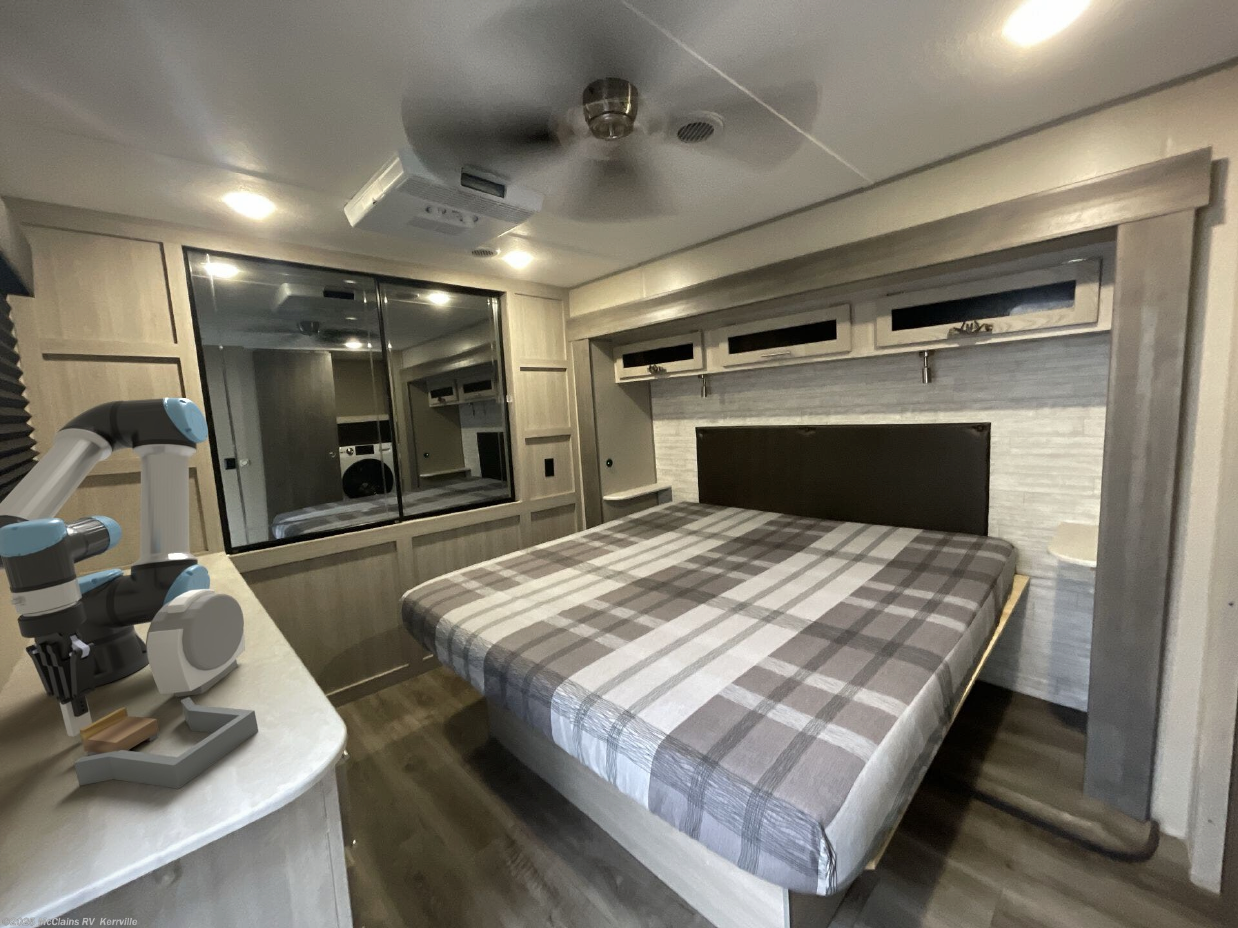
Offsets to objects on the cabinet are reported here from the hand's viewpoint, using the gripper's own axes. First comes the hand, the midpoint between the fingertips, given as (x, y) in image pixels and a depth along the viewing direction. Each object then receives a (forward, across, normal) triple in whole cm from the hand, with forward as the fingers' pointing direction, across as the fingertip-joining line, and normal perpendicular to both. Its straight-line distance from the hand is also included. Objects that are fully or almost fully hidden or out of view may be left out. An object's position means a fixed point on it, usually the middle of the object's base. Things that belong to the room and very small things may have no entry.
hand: (80, 730), depth 87 cm
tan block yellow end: (+2, +10, 0) cm, 10 cm away
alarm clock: (+2, +4, +19) cm, 20 cm away
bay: (+2, +23, 0) cm, 23 cm away
